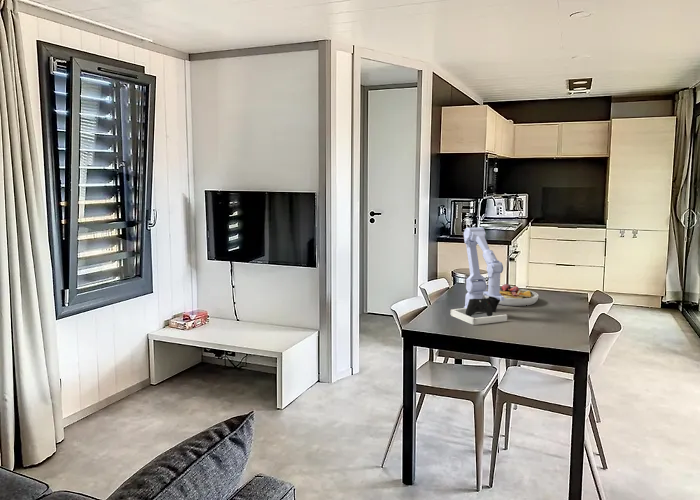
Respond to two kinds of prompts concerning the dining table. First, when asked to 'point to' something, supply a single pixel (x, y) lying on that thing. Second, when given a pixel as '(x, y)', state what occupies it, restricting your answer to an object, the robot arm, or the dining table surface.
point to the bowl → (516, 296)
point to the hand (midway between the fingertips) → (493, 311)
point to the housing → (475, 321)
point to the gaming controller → (479, 307)
